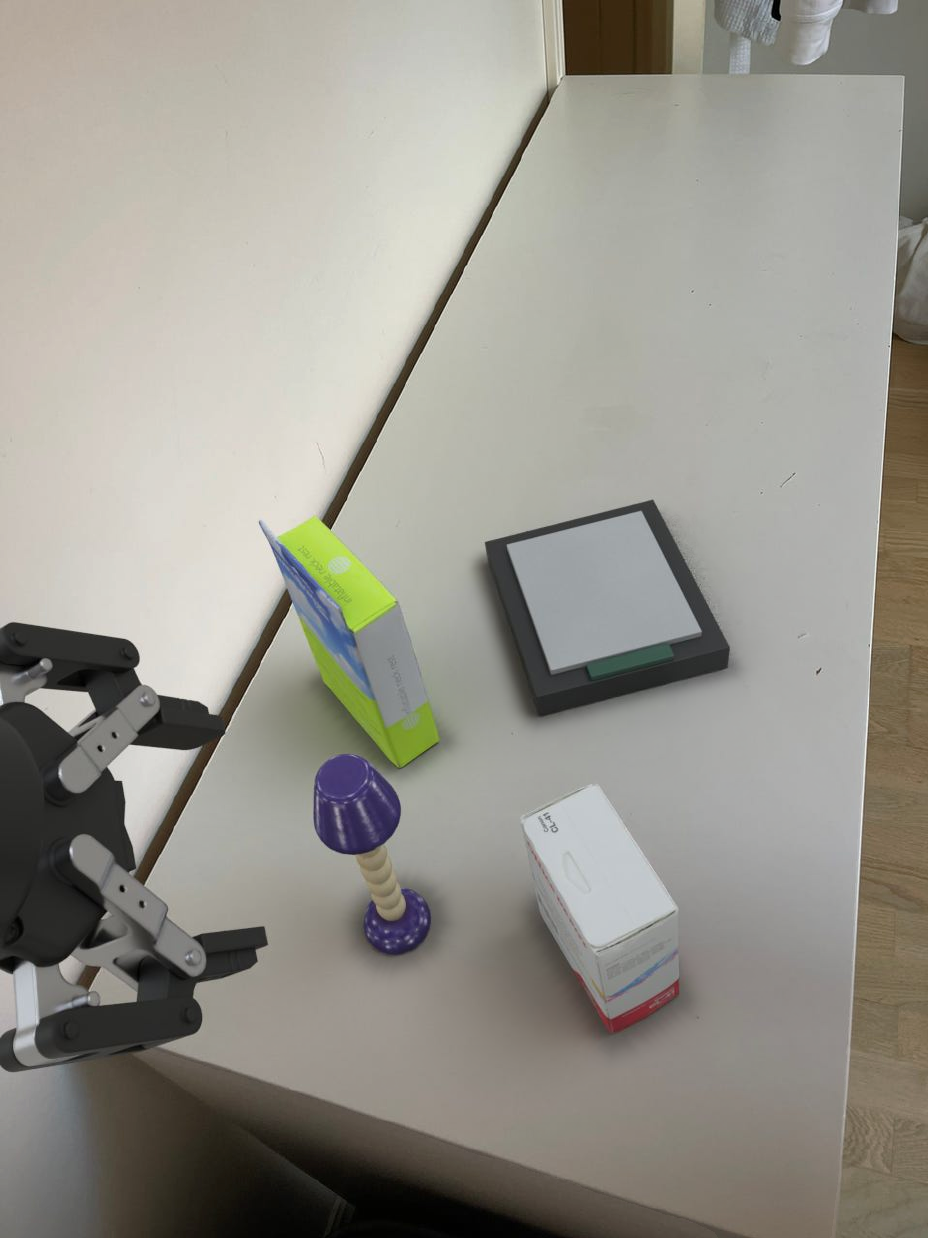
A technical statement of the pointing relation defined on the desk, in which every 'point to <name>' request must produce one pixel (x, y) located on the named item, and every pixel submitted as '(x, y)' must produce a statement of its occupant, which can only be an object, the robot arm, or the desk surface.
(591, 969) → the ink box
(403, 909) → the toy lamp
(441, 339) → the desk surface
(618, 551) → the scale
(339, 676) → the box
